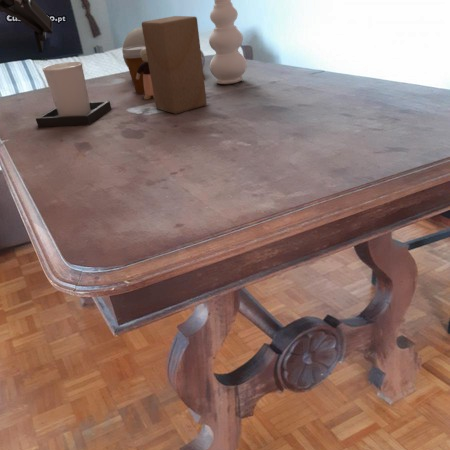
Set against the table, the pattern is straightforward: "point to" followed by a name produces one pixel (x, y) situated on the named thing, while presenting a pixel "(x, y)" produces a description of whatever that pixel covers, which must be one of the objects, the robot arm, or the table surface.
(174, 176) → the table surface
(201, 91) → the wooden block
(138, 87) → the disposable coffee cup
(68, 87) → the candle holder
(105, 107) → the black tray
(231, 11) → the vase
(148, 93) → the grandmother figurine
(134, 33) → the decorative sphere
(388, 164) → the table surface
